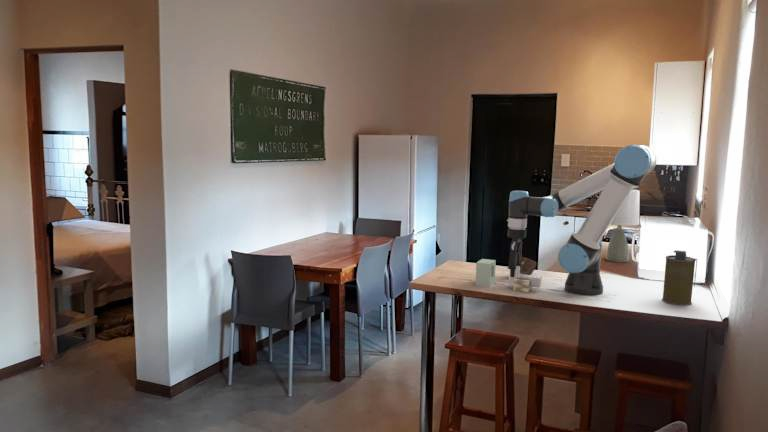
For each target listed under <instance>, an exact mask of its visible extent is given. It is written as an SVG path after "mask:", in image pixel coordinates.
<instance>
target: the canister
mask: <svg viewBox="0 0 768 432" xmlns="http://www.w3.org/2000/svg"><path fill="white" fill-rule="evenodd" d="M673 253H675V254H674V255H671V254H670V255H666V256H665V269H664V280H663V289H662V290H663V292H662V298H661V300H662V301H663V302H665V303H667V304H671V305H677V306H690V305H691V304H692V303H693V302H692V295H693V288H695V286H696V281H694V279H696V276H697V271H695V269H697V266H698V259H697V258H694V257H690V256H687V252H686V250H674V251H673ZM694 274H695V275H694Z"/></svg>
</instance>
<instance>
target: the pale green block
mask: <svg viewBox="0 0 768 432" xmlns="http://www.w3.org/2000/svg"><path fill="white" fill-rule="evenodd" d="M496 261H497V260H496V259H488V258H487V259H486V258H481V259H479V260H478V261H477V262H476V266H475V267H476V268H475V269H476V270H475V286H478V287H480V286H481V287H487V286H489V287H491V286H492V285H493V284H495V282H496V281H495V280H496ZM489 287H488V288H489Z"/></svg>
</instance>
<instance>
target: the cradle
mask: <svg viewBox="0 0 768 432" xmlns="http://www.w3.org/2000/svg"><path fill="white" fill-rule="evenodd" d="M532 288H533V287H529V280H521V279H514V285H513V291H515V292H516V291H517V292H522V293H524V292H525V293H529V291H531V290H532Z"/></svg>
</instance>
